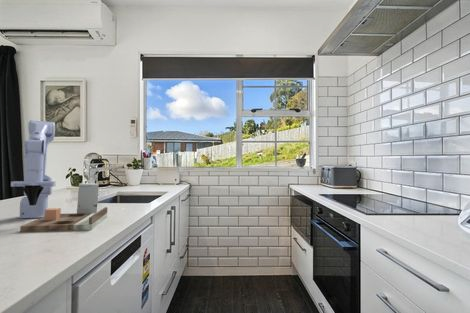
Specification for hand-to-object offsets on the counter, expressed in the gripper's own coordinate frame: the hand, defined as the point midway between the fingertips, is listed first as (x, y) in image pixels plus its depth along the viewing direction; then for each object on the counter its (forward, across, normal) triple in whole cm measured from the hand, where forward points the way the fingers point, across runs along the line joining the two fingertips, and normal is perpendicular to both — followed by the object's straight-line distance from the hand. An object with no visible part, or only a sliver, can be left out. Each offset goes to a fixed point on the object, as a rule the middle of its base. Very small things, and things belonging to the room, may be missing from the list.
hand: (32, 205), depth 103 cm
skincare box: (+8, +15, +16) cm, 23 cm away
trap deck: (+8, +13, 0) cm, 15 cm away
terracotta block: (+6, +7, 0) cm, 9 cm away
